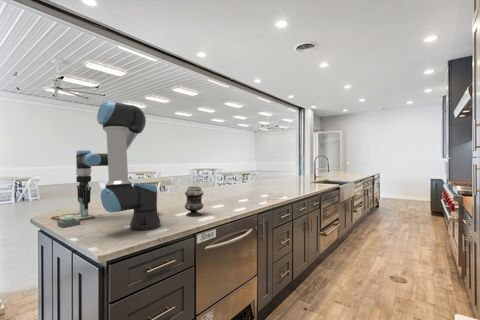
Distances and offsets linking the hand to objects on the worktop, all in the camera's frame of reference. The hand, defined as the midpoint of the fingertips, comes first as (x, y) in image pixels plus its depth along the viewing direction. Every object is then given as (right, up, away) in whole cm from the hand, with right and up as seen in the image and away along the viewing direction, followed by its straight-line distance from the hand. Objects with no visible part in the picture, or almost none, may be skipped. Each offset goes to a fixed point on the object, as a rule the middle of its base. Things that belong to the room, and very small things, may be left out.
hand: (83, 213), depth 149 cm
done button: (+2, -1, -15) cm, 16 cm away
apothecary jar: (+65, -3, +10) cm, 66 cm away
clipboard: (-6, -3, 0) cm, 7 cm away
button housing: (+2, -3, -15) cm, 16 cm away
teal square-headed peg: (0, -1, 0) cm, 1 cm away
